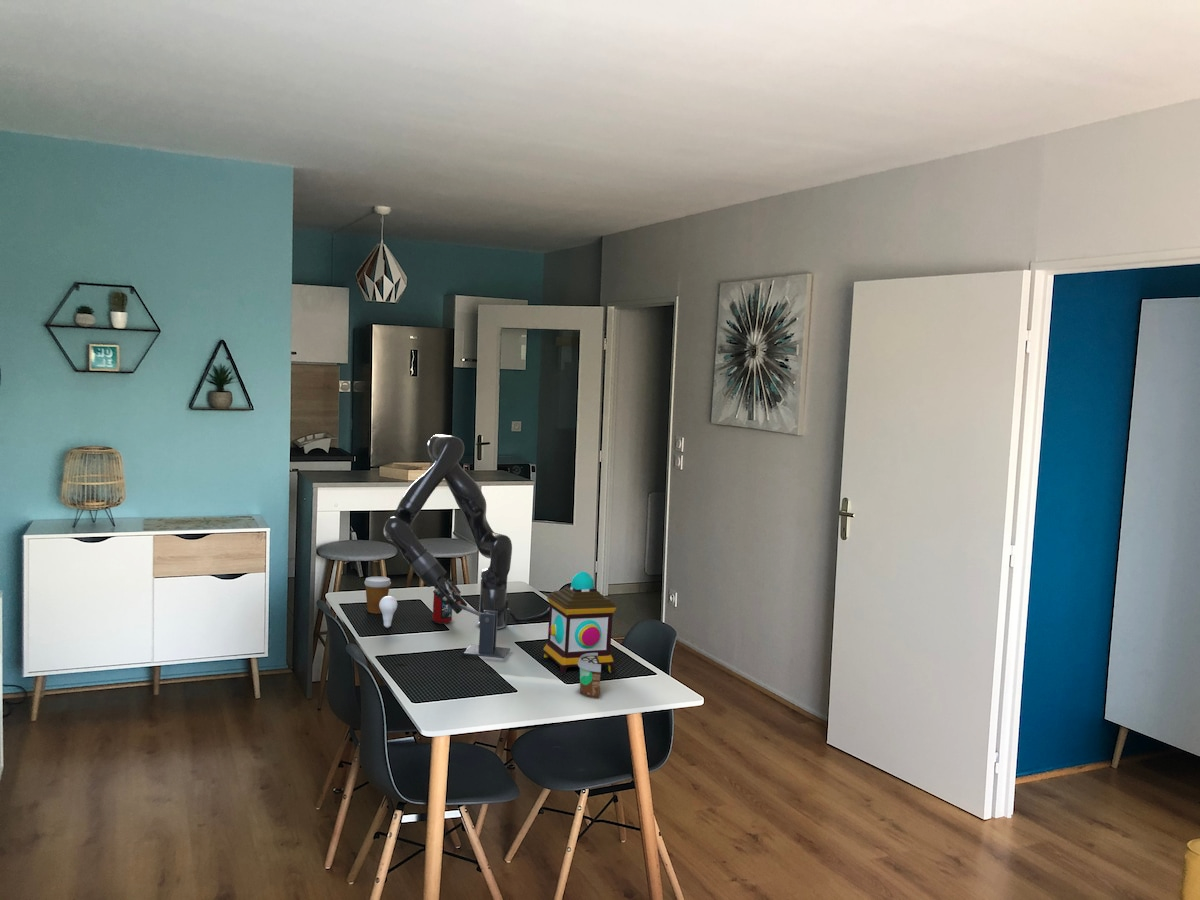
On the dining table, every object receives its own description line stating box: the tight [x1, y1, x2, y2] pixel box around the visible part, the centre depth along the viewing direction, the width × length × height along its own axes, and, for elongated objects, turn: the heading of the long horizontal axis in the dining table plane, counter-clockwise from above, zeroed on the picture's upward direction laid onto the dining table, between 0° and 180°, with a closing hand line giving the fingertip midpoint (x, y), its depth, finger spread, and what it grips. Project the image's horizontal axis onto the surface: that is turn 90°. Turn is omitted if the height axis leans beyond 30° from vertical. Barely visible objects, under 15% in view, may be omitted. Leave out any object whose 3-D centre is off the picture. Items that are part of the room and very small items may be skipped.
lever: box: [457, 601, 490, 617], centre depth 298 cm, size 13×6×2 cm, turn 84°
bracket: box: [462, 610, 511, 659], centre depth 298 cm, size 13×10×14 cm
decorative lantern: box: [542, 570, 617, 674], centre depth 292 cm, size 20×20×30 cm
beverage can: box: [432, 593, 453, 624], centre depth 334 cm, size 7×7×12 cm
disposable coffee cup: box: [363, 576, 392, 614], centre depth 343 cm, size 10×10×12 cm
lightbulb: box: [379, 595, 398, 629], centre depth 322 cm, size 6×6×11 cm
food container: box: [577, 653, 602, 699], centre depth 269 cm, size 12×6×10 cm, turn 5°
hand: (462, 609), depth 298 cm, fingers closed on lever, 5 cm apart
